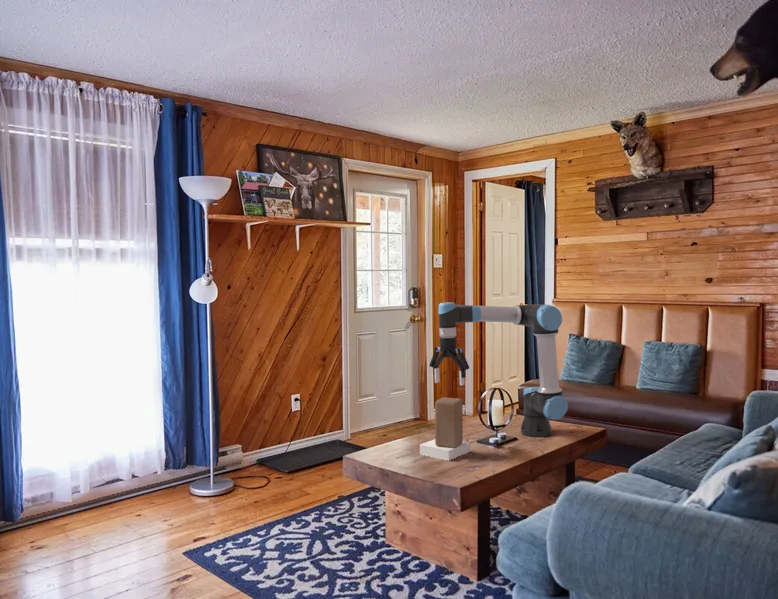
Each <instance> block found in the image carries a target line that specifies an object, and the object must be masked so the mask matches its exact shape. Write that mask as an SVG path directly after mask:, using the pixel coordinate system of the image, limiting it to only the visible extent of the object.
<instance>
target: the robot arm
mask: <svg viewBox="0 0 778 599" xmlns="http://www.w3.org/2000/svg"><path fill="white" fill-rule="evenodd" d="M476 322H484V323H486V322H487V323H488V322H489V323H510V324H511V323H512V324H514V325H515V326H516V325H517V326H524V327H529V328H532V332H533V333H532V334H533V335H534V336H535V337H536V344H537V346H536V348H537V360H538V361H537V362H538V363H537V364H538V372H539V373H538V374H539V376H538V377H539V386H530V387H525V388H524V389H523V420H522V424H521V426H520V434H522V435H524V436H526V437H537V438H539V437H543V438H544V437H548V436H551V435H552V434H553V429H552V425H551V421H550V420H554V421H556V420H557V421H558V420H560V419H562V418H563V417H564V416H565V415H566V413H567V412H568V409H569V408H568V407H569V403H568V401H567V399H566V398H565V397H564V394H563V389H562V388H561V387H560V385H559V384H560V382H559V373H558V370H559V368H558V358H557V355H558V354H557V342H556V337H557V335H558V334H559V329H560V327H561V325H562V322H563V316H562V312H561V311H560V310H559V309H558V307H556V306H554V305H551V304H543V303H542V304H539V303H537V304H536V303H530V304H522V305H521V304H520V305H519V304H515V305H514V306H500V305H499V306H493V305H473V304H472V305H467V304H466V305H465V304H456V303H455V302H452V301H451V302H441V303H439V304H438V326H439V328H438V329H439V333H438V334H439V337H440V338H439V346H434V352H433V354H432V357H431V359H430V361H429V362H430V363H429V365H428V366H429V367H431V368H432V371H433V372H432V373H433V376H434V383H435V384H437V383H441V380H440V379H441V378H440V377H441V376H440V367H439V366H440V365H441V363H442V362H443V360H444V359H445V358H446V359H447V358H448V359H450V358H451V359H452V360H453V361H454V362H455V363H456V365H457V366H458V368H459V369H460V370H458V373H459V386H461V387H462V386H465V384H466V383H465V382H466V381H465V378H466V377H467V376H466V375H467V372H466V371H467V370H469V369H470V366H469V363H468V361H467V359H466V356H465V354H464V351H463V348H462V347H458V348H457V337H456V336H457V324H461V323H463V324H464V323H465V324H466V323H476Z"/></svg>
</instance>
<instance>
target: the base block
mask: <svg viewBox="0 0 778 599" xmlns="http://www.w3.org/2000/svg"><path fill="white" fill-rule="evenodd" d="M468 452H470V453H471V442H468V441H462V443H461V444H460V445H458V446H457V447H456V448H452V447H444V446H437V445H436V444H435V438H434V439H432V440H431V439H430V440H429V441H426V442H423V443H420V444H419V455H420V454H421V455H420V456H424V455H425V457H429V456H430V458H433V457H434V459H437V458H439V459H438V460H442V459H444V460H443V461H446V460H448V461H447V462H450V461H452V460H451V459H453V460H455V459H457V458H456V457H458V456H460V457H462V456H461V455H463V454H465V453H468ZM468 454H469V453H468ZM465 455H466V454H465ZM463 456H464V455H463ZM454 458H455V459H454ZM458 458H459V457H458ZM449 460H450V461H449Z"/></svg>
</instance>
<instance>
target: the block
mask: <svg viewBox="0 0 778 599" xmlns="http://www.w3.org/2000/svg"><path fill="white" fill-rule="evenodd" d="M434 404H435V405H434V419H435V421H434V429H435V430H434V432H435V433H434V436H435V437H434V439H435V444H436V445H437V446H444V447H452V448H456V447H457V446H458V445H460V444H461V443H462V441H463V435H464V434H463V422H464V421H463V418H464V417H463V399H461V398H457V397H455V398H454V397H441V398H439V399H438V400H435V402H434Z"/></svg>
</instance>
